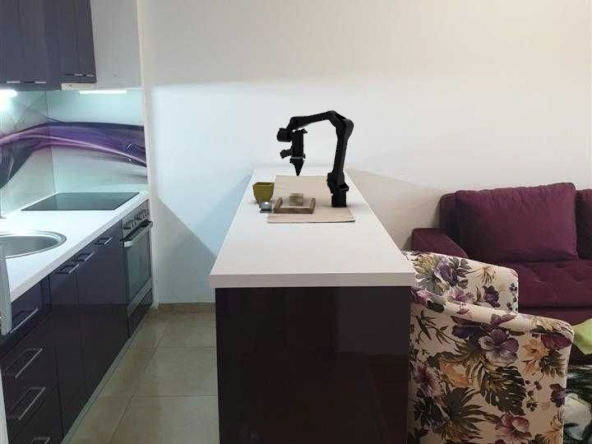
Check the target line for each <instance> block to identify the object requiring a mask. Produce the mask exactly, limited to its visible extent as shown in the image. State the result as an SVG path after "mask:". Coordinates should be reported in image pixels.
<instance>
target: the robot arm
mask: <svg viewBox="0 0 592 444" xmlns="http://www.w3.org/2000/svg"><path fill="white" fill-rule="evenodd" d="M288 121H289V122H288V123H287V125H286V127H278V131H277V133H276V140H277V142H279V143H291V146H290V148H288V149H285V148H284V149H281V151H280V152H279V156H280V158H281V160H284V159H285V158H287V157H290V158H289V164H292V165H293V166H294V170H295V174H296V177H300V174H301V171H302V169H303V166H304V163H305V161H306V160H305V159H306V157H307V156H306V153H305V144H304V143H305V139H304V138H305V134H308V133H309V132H308V131H307V130H306V128H305V127H307V126H309V125H311V124H314V123H315V124H316V123H320V122H323V121H329V123H330V124H331V125H332V126H333V127H335V136H336V137H337V140H336V147H335V153H334V159H333V165H332V169H331V171H330V172H327V176H326V179H325V182H326V185H327V188H328V189H329V192H330V194H332V195H331V196H330V197H331V200H330V201H331V202H330V203H331V207H333V208H347V204H348V203H347V193H349V191H350V186H349V185H348V184H347V183H346V176H345V172H344V169H345V168H344V167H345V160H346V154H347V148H348V143H349V142H348V141H349V139H350V137H351V135H352V134H353V131H354V127H355V124H354V123H355V122H353V120H351V119H349V118H347V117H345V116H344V115H342V114H341V113H339V112H337V111H336V110H333V109H331V110H327V111H323V112H319V113H314V114H310V115H296V116H291V117H290V118H289V120H288Z"/></svg>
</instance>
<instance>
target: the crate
mask: <svg viewBox="0 0 592 444" xmlns="http://www.w3.org/2000/svg"><path fill="white" fill-rule="evenodd" d="M304 194H305V193H302V192H290V193H289V196H288V197H289V207H304V206H303V205H304V196H305V195H304Z"/></svg>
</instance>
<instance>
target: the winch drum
mask: <svg viewBox="0 0 592 444" xmlns="http://www.w3.org/2000/svg"><path fill="white" fill-rule="evenodd" d="M258 209H260V210H259V213H260V214H272V213H273V203H272V201H269V202H261V198H259V203H258Z"/></svg>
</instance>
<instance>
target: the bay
mask: <svg viewBox="0 0 592 444" xmlns="http://www.w3.org/2000/svg"><path fill="white" fill-rule="evenodd" d="M282 205H283V197H278V199H277V200H276V203H275V204H274V206H272V209H273V211H272V213H273V214H286V213H287V214H289V215H290V214H295V215H297V214H299V215H300V214H301V215H302V214H303V215H305V214H306V215H307V214H308V215H309V214H311V215H313V213H314V209H315V207H316V197H311V200H310V203H309V207H281V206H282Z"/></svg>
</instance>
